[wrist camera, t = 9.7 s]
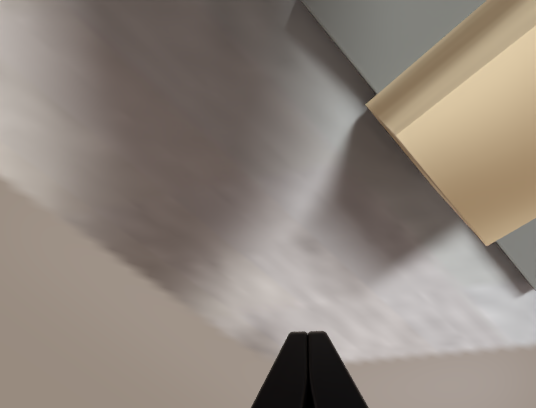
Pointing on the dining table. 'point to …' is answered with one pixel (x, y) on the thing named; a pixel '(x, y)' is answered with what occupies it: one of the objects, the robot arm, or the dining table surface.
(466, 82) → the wooden building block
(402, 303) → the dining table surface
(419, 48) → the board
